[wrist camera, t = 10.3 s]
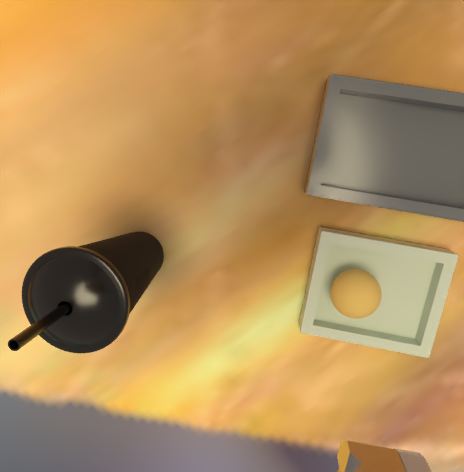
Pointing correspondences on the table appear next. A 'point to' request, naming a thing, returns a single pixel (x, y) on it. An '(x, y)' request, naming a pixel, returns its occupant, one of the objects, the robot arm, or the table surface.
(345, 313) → the ball
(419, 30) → the table surface
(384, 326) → the tray
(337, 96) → the dish
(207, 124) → the table surface
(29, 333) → the drinking cup
